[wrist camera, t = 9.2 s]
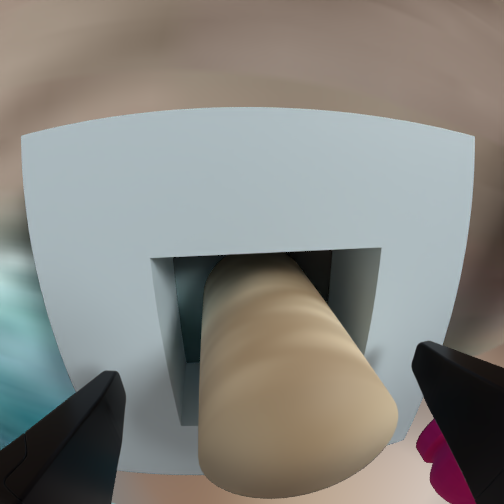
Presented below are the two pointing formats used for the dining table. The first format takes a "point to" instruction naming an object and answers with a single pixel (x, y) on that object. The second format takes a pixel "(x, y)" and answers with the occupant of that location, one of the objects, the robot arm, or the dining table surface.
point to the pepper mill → (443, 466)
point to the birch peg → (282, 384)
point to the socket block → (239, 242)
